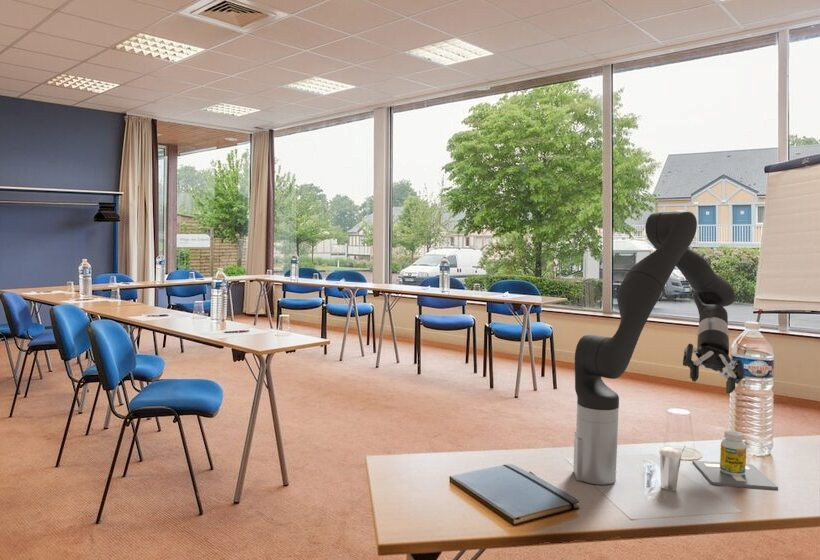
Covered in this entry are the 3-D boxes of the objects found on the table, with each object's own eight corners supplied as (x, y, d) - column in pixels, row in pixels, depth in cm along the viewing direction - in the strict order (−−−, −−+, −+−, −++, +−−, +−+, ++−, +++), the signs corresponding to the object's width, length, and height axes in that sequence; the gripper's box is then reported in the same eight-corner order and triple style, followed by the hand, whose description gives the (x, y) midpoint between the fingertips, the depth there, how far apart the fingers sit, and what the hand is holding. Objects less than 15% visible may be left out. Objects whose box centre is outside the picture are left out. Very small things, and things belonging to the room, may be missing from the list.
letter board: (711, 484, 136) (712, 481, 136) (692, 462, 150) (692, 459, 150) (778, 489, 134) (778, 486, 134) (752, 466, 148) (752, 464, 148)
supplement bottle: (742, 469, 144) (744, 430, 143) (747, 477, 139) (749, 437, 138) (717, 466, 145) (719, 428, 145) (721, 474, 140) (723, 434, 140)
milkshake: (685, 493, 131) (688, 449, 130) (660, 491, 132) (662, 446, 131) (680, 485, 135) (683, 442, 135) (656, 483, 137) (657, 440, 136)
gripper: (692, 320, 158) (690, 367, 147) (747, 338, 156) (749, 387, 145) (680, 337, 164) (677, 384, 153) (733, 355, 161) (734, 403, 151)
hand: (712, 385), depth 149 cm, fingers open, 8 cm apart
